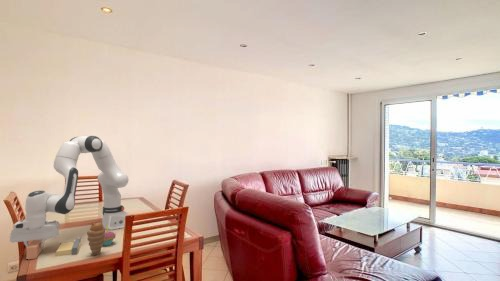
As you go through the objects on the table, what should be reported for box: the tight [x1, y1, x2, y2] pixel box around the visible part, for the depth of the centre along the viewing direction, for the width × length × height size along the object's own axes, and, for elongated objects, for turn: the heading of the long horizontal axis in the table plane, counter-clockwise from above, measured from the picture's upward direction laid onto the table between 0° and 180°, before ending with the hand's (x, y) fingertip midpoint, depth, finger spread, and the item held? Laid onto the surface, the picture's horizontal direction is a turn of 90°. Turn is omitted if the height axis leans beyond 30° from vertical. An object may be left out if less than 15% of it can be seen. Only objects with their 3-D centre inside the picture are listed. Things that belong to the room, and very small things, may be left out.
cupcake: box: [103, 225, 117, 247], centre depth 158 cm, size 9×8×12 cm
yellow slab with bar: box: [55, 237, 82, 257], centre depth 148 cm, size 10×15×4 cm
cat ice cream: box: [86, 219, 106, 256], centre depth 144 cm, size 9×8×18 cm
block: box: [25, 239, 43, 260], centre depth 141 cm, size 4×12×6 cm, turn 26°
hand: (34, 247), depth 141 cm, fingers closed on block, 4 cm apart
